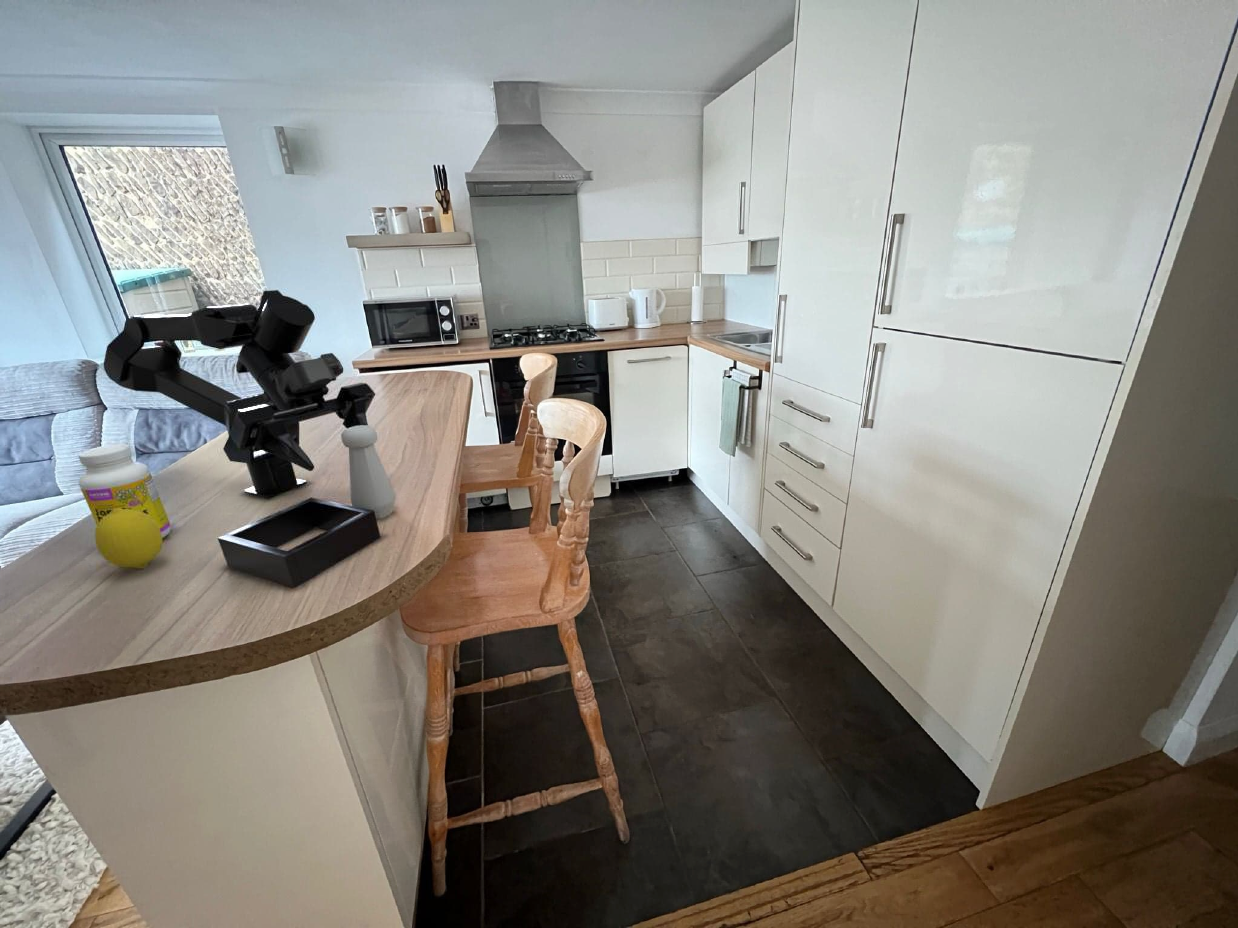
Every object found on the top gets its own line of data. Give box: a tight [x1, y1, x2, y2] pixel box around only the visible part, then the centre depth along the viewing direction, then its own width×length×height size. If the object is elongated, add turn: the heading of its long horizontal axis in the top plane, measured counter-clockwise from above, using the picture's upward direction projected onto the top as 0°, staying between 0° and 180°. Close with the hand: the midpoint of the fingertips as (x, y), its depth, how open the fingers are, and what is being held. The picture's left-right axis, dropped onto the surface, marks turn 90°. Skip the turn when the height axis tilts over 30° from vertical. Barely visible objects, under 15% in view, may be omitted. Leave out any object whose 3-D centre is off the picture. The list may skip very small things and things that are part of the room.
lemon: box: [94, 508, 163, 570], centre depth 60 cm, size 6×6×8 cm
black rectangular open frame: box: [217, 496, 381, 589], centre depth 63 cm, size 12×12×4 cm
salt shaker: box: [340, 425, 397, 520], centre depth 71 cm, size 6×6×13 cm
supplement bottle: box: [78, 443, 172, 539], centre depth 66 cm, size 7×7×13 cm
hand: (343, 458), depth 72 cm, fingers open, 9 cm apart
